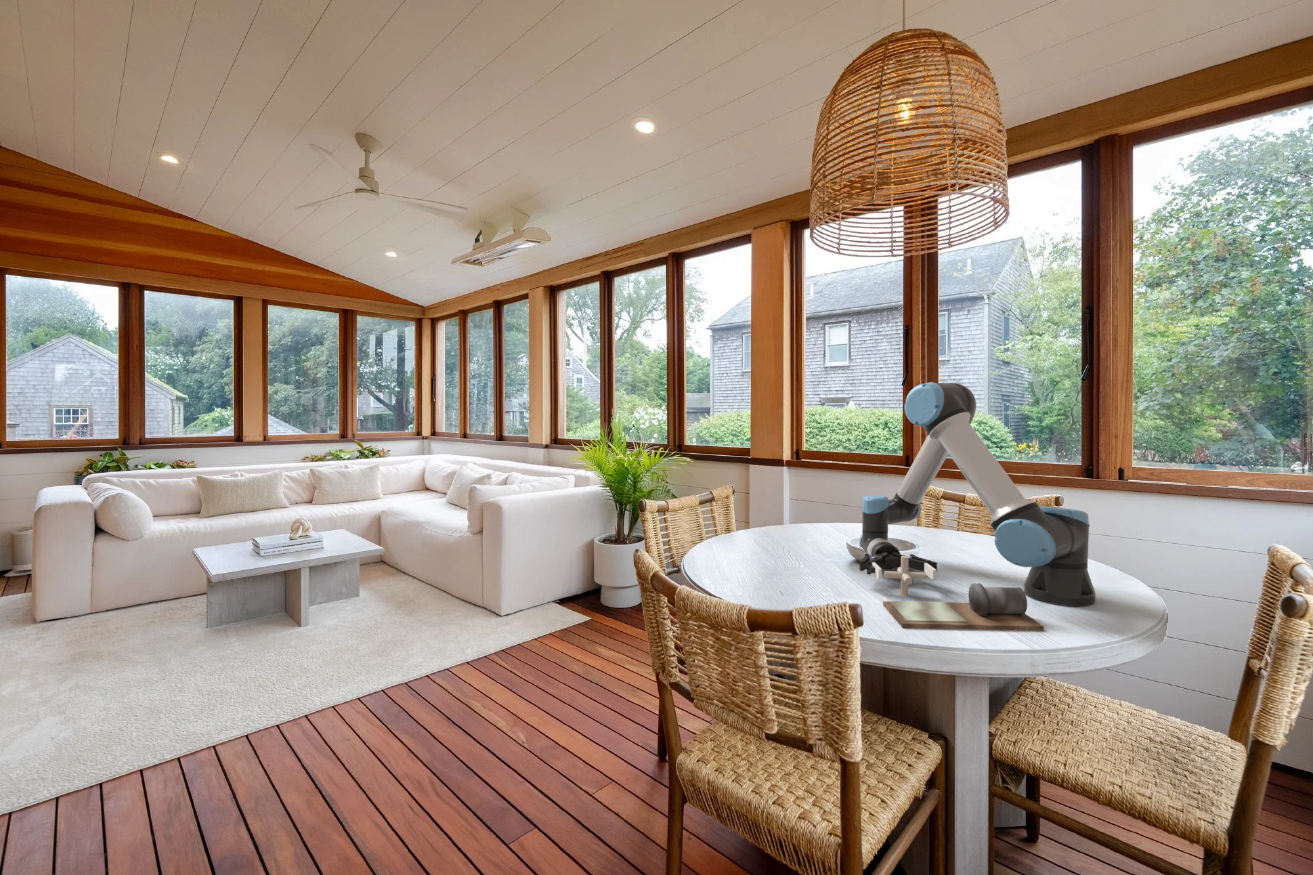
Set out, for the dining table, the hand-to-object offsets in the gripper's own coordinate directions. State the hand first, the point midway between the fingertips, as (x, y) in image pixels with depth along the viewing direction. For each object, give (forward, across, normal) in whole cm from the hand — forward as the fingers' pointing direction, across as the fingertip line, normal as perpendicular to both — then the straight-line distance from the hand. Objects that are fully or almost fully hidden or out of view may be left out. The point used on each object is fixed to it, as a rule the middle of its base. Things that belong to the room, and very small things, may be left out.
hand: (907, 574), depth 153 cm
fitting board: (+14, -7, -6) cm, 17 cm away
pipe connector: (-2, 0, -6) cm, 7 cm away
